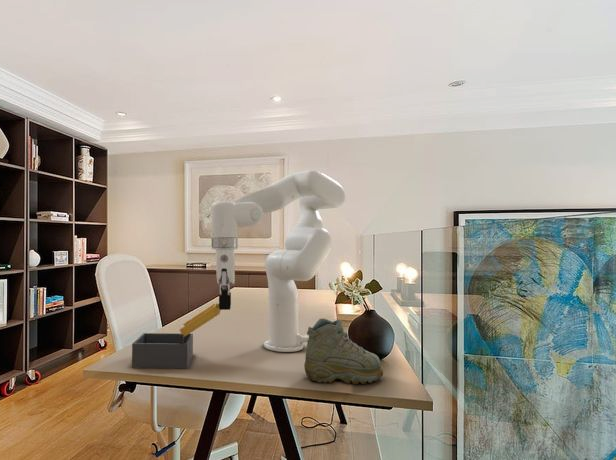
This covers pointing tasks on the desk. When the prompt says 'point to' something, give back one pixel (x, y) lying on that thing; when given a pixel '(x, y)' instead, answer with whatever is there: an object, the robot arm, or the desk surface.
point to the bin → (162, 350)
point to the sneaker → (338, 356)
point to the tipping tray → (200, 319)
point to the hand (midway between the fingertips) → (225, 307)
